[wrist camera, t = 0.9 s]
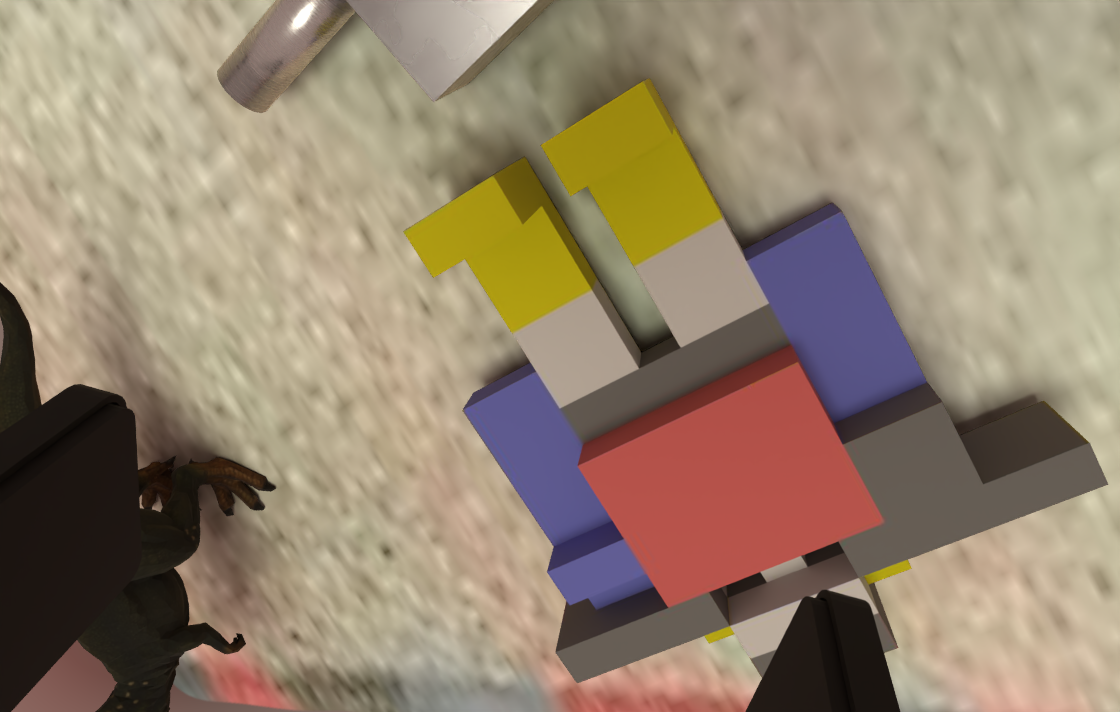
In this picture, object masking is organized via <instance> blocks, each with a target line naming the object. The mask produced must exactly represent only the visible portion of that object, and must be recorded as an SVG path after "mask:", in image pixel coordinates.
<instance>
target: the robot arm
mask: <svg viewBox="0 0 1120 712" xmlns="http://www.w3.org/2000/svg"><path fill="white" fill-rule="evenodd" d="M141 558H142V544H141V523H140V503H139V483H138V463H137V443H136V423H135V415H134V413H133V411H132V410H130V409H128V408H127V407H126V402H125V400H124V399H123V397H122V396H120V395H118V394H114V393H110V392H107V391H103V390H100V389H96V388H92V387H89V386H85V385H81V384H77V385H73V386H70V387H68V388H67V389H65V390H64V391H62V392H61V393H59V394H58V395H56V396H55V397H53V398H52V399H50V400H49V401H47V402H46V403H44V404H43V405H41V406H40V407H38V408H37V409H35V410H34V411H32V412H31V413H29V414H28V415H26V416H25V417H23V418H22V419H20V420H19V421H17V422H16V423H15V424H13V425H12V426H10V427H9V428H7V429H6V430H4V431H3V432H1V433H0V712H11V711H12V710H13V709H14V708H15V707H16V706H17V705H18V703H19V702H20V701H21V700H22V699H23V698H24V697H25V696H26V695H27V693H29V691H30V690H31V689H32V688H33V687H34V686H35V685H36V684H37V683H38V681H39V680H40V679H41V678H42V677H43V676H44V675H45V674H46V673H47V672H48V671H49V670H50V669H51V667H52V666H53V665H54V664H55V663H56V662H57V661H58V660H59V659H60V658H61V657H62V655H63V654H64V653H65V652H66V651H67V650H68V649H69V648H70V647H71V646H72V644H73V643H74V642H75V641H76V640H77V639H78V638H79V637H80V636H81V635H82V634H83V633H84V631H85V630H86V629H87V628H88V627H89V626H90V625H91V624H92V623H93V622H94V621H95V619H96V618H97V617H98V616H99V615H100V614H101V613H102V612H103V611H104V610H105V609H106V607H107V606H108V605H109V604H110V603H111V602H112V601H113V600H114V599H115V598H116V597H117V595H118V594H119V593H120V592H121V591H122V590H123V589H124V588H125V587H126V586H127V584H128V583H129V582H130V581H131V580H132V578H133V577H134V576H135V574H136V572H137V570H138V568H139V565H140V562H141ZM746 712H900V709H899V705H898V702H897V698H896V695H895V691H894V687H893V684H892V680H891V677H890V673H889V669H888V666H887V662H886V659H885V655H884V651H883V648H882V644H881V641H880V637H879V633H878V630H877V626H876V623H875V619H874V615H873V612H872V609H871V607H870V604H869V603H868V602H867V601H866V600H862V599H859V598H855V597H851V596H848V595H844V594H840V593H837V592H833V591H830V590H821V591H820V592H819V593H818V594H817V596H816V597H815V598H813V597H809V596H805V597H804V598H803V599H802V600H801V602H800V604H799V606H798V608H797V610H796V612H795V614H794V616H793V618H792V620H791V622H790V624H789V626H788V628H787V630H786V632H785V634H784V636H783V638H782V640H781V642H780V644H779V646H778V648H777V650H776V652H775V654H774V656H773V658H772V660H771V662H770V664H769V666H768V668H767V670H766V672H765V674H764V676H763V678H762V680H761V682H760V684H759V686H758V688H757V690H756V692H755V694H754V696H753V698H752V700H751V702H750V704H749V706H748V708H747V710H746Z"/></svg>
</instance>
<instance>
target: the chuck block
mask: <svg viewBox="0 0 1120 712" xmlns="http://www.w3.org/2000/svg"><path fill="white" fill-rule="evenodd" d="M553 1H554V0H276V1H275V2H274V3H273V5H272V6H271V7H270V8H269V9H268V11H267V12H266V13H265V14H264V15H263V17H262V18H261V19H260V20H259V21H258V22H257V24H256V25H255V26H254V27H253V28H252V30H251V31H250V32H249V33H248V34H247V36H246V37H245V38H244V39H243V40H242V42H241V43H240V44H239V45H238V46H237V48H236V49H235V50H234V51H233V52H232V54H231V55H230V56H229V57H228V58H227V60H226V61H225V62H224V63H223V64H222V66H221V67H220V68H219V69H218V71H217V76H218V79H219V82H220V83H221V85H222V87H223V88H224V89H225V91H226V92H227V93H228V94H229V95H230V96H231V97H232V98H233V99H234V100H235V101H237V102H238V103H239V104H241V105H242V106H244V107H245V108H247V109H249V110H252V111H254V112H259V113H263V112H266V111H267V110H268V109H269V107H270V106H271V105H272V104H273V103H274V102H275V101H276V100H277V99H278V97H279V96H280V95H281V94H282V93H283V92H284V91H285V90H286V89H287V87H288V86H289V85H290V84H291V83H292V82H293V81H294V80H295V78H296V77H297V76H298V75H299V74H300V73H301V72H302V71H303V70H304V68H305V67H306V66H307V65H308V64H309V63H310V62H311V61H312V60H313V58H314V57H315V56H316V55H317V54H318V53H319V52H320V51H321V50H322V48H323V47H324V46H325V45H326V44H327V43H328V42H329V41H330V39H331V38H332V37H333V36H334V35H335V34H336V33H337V32H338V31H339V29H340V28H341V27H342V26H343V25H344V24H345V23H346V22H347V21H348V19H349V18H350V17H351V16H352V15H353V14H354V13H355V12H356V13H357V14H358V15H359V16H360V17H361V18H362V20H363V21H364V22H365V23H366V24H367V25H368V26H369V28H370V29H371V30H372V31H373V32H374V33H375V35H376V36H377V37H378V38H379V39H380V40H381V42H382V43H383V44H384V45H385V46H386V47H387V48H388V50H389V51H390V52H391V53H392V54H393V55H394V57H395V58H396V59H397V60H398V61H399V62H400V64H401V65H402V66H403V67H404V68H405V69H406V70H407V72H408V73H409V74H410V75H411V76H412V77H413V79H414V80H415V81H416V82H417V83H418V84H419V86H420V87H421V88H422V89H423V90H424V91H425V93H426V94H427V95H428V96H429V97H430V98H431V99H432V101H433V102H435V101H437V100H439V99H441V98H442V97H444V96H446V95H448V94H450V93H452V92H454V91H456V90H458V89H460V88H462V87H464V86H466V85H467V84H469V83H470V82H471V81H472V80H473V79H474V78H475V77H476V76H477V75H478V74H479V73H480V72H481V71H482V70H483V69H484V68H485V67H486V66H487V65H488V64H489V63H490V62H491V61H492V60H493V59H494V58H495V57H496V56H497V55H498V54H500V53H501V52H502V51H503V50H504V49H505V48H506V47H507V46H508V45H509V44H510V43H511V42H512V41H513V40H514V39H515V38H516V37H517V36H518V35H519V34H520V33H521V32H522V31H523V30H524V29H525V28H526V27H527V26H528V25H529V24H530V23H532V22H533V21H534V20H535V19H536V18H537V17H538V16H539V15H540V14H541V13H542V12H543V11H544V10H545V9H546V8H547V7H548V6H549V5H550V4H551V3H552V2H553Z"/></svg>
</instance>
